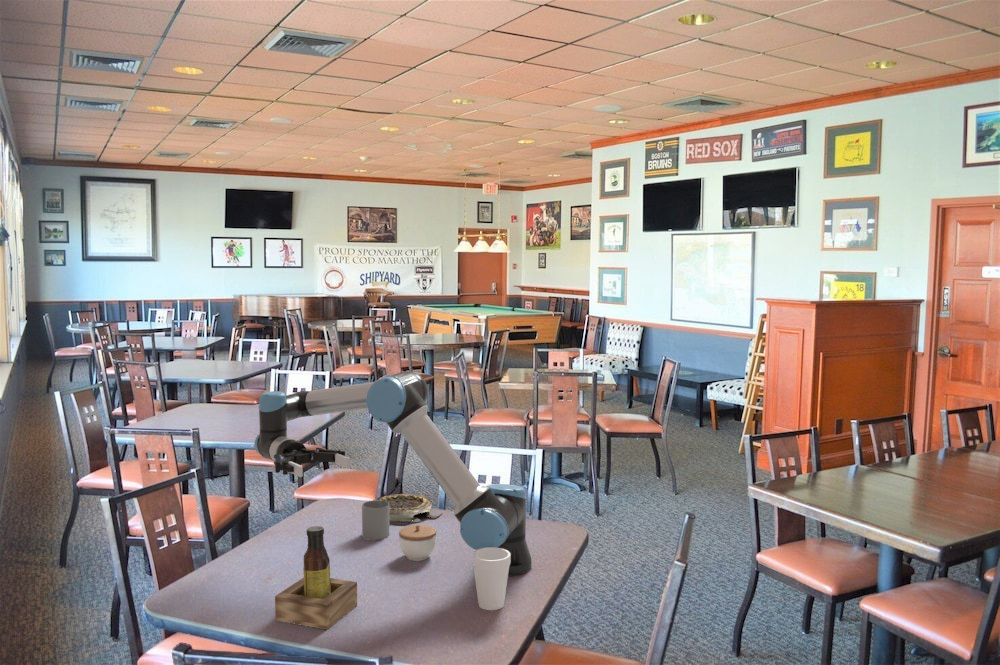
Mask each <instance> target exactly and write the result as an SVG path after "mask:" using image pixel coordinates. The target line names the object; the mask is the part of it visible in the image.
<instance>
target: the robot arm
mask: <svg viewBox="0 0 1000 665" xmlns="http://www.w3.org/2000/svg"><path fill="white" fill-rule="evenodd" d="M428 395H429V388H428V385H427V381H426V380H425V379H424V378H423V376H422V375H420V374H418V373H417V372H414V371H409V370H408V371H406V370H405V371H401V372H398V373H394V374H391V375H390V374H389V375H385V376H382V377H381V378H379V379H377V380H375V381H372V382H365V383H364V382H363V383H358V384H357V383H356V384H348V385H343V386H342V385H341V386H336V387H329V388H322V389H321V388H320V389H313V390H309V391H308V390H300V391H296V392H294V393H291V394H286V393H285V392H284V391H279V390H277V391H275V390H273V391H266V392H263V393H261V394H260V395H259V400H258V401H259V404H258V412H259V413H258V415H259V434H258V435H257V436H256V437H255V439H254V442H253V444H254V450H255V451H256V452H257V454H259V455H260V456H261V457H262V458H265V459H267V460H271V461H273V465H274V468H275V469H274V470H275V473H277V474H279V473H280V472H281V471H282V475H286V476H287V475H288V473H289V474H292V475H294V476H297V477H299V478H302V477H304V476H303V474H304V473H303V472H304V470H303V469H304V468H303V466H304V465H303V464H305V465H306V464H316V463H317V462H320V463H334V464H335V465H338V466H340V467H343V468H345V469H350V468H351V458H350V457H348V456H346V451H344V450H340V449H338V450H336V449H335V450H334V449H333V450H332V449H328V448H327V449H325V448H320V447H316V448H315V449H308V448H307V447H306V446H305V444H303V443H302V442H301V441H299V440H295V439H293V438H290V437H288V435H287V434H288V433H287V430H288V429H287V428H288V426H287V425H288V424H287V423H288V422H289V421H293V420H296V419H299V418H306V417H313V416H321V415H326V414H327V415H329V414H335V413H344V412H345V413H346V412H352V411H360V410H368V412H369V414H370V416H372V418H374V419H375V420H376V421H378V422H381V423H386V425H387V427H389V429H390V430H391V432H392V433H393V434H395V433H397V434H400V435H402V437H403V438H404V439H405V441H406V442H407V444H408V445H409V446H410V447H411V449H412V451H414V452H415V454H416V456H417V457H418V459H419V460H420V461H421V462H422V463H423V465H424V467H425V468H426V470H428V472H429V473H430V474H431V476H432V478H434V480H435V481H436V482H437V484H438V486H439V487H440V488H441V489H442V491H444V493H445V495H446V496H447V497H448V499H449V500H450V501H451V503H452V504H453V506H454V513H453V515H454V517H455V519H457V521H458V522H459V528H460V529H459V532H460V535H461V538H462V540H463V541H464V543H465V544H466V545H467V546H469V547H470V548H471V549H472V550H474V551H476V550H478V549H481V548H486V547H496V548H502V549H505V550H508V551H509V552H510V553H511V563H510V566H509V571H508V577H512V576H518V575H520V576H521V575H523V574H525V573H527V572H529V571H530V570H531V569H532V556H531V553H530V550H529V547H528V543H527V538H526V530H527V528H526V527H527V526H526V525H527V524H526V522H527V518H526V517H527V515H526V514H527V513H526V512H527V511H526V510H527V500H528V499H527V495H526V494H527V492H526V489H525V488H524V487H523V486H520V485H515V484H508V483H507V484H504V483H494V484H493V483H492V484H488V485H486V486H483V485H481V484H480V482H478V481H477V479H476V478H475V476H474V475H473V474H472V473H471V471H470V470H469V468H468V467H467V466H466V464H465V463H464V462H463V459H461V458H460V457H459V454H457V452H456V451H455V450H454V448H453V447H452V446H451V444H450V443H449V442H448V441H447V439H446V438H445V437H444V435H443V433H442V432H441V431H440V430H439V428H438V427H437V426H436V424H435V423H434V421H432V419H431V418H430V416H429V415H428V407H429V405H428V404H427V403H426V402H427V399H428Z"/></svg>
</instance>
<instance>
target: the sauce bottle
mask: <svg viewBox="0 0 1000 665" xmlns="http://www.w3.org/2000/svg"><path fill="white" fill-rule="evenodd" d="M306 535H307V549H306V551H305V553H304V554H303V578H304V595H305V596H307V597H313V598H319V599H324V598H325V597H327V596H328V595H329V594H331V583H330V578H331V567H330V566H331V562H330V561H331V560H330V556H329V555H328V553H327V552H328V551H327V550H326V547H325V543H324V535H325V528H324V527H323V526H320V525H319V526H318V525H315V526H314V525H313V526H309V527H308V528H307V529H306Z"/></svg>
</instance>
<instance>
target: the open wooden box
mask: <svg viewBox="0 0 1000 665" xmlns="http://www.w3.org/2000/svg"><path fill="white" fill-rule="evenodd" d="M330 583H331V594H329V595H328V596H327V597H325V598H324V599H319V598H313V597H307V596H305V595H304V577H302V578H301V579H299V580H298V581H296V582H294V583H293V584H292V585H290V586H288V587H287V588H285V589H283V590H282V591H281V592H279V593H278V594H276V595H275V596H274V612H275V613H274V615H275V618H274V619H275V620H276V621H275V622H279V621H283V622H282V623H285V622H289V623H288V624H290V623H295V624H294V625H296V624H301V625H306V626H305V627H307V626H310V627H309V628H312V627H316V628H315V629H318V628H320V630H323V629H326V630H325V631H328V630H330V629H331V627H333V626H334V625H335V624H336V623H338V622H339V621H340V620H341V619H343V618H344V617H345V616H347V615H348V614H349V613H350V612H351V611H352V609H353V608H354V607H355V606H356V607H357V606H358V582H357V581H352V580H344V579H340V578H333V577H332V578H331V577H330ZM356 607H355V608H356ZM355 608H354V609H355ZM354 609H353V610H354ZM349 611H350V612H349ZM348 612H349V613H348ZM347 613H348V614H347ZM343 616H344V617H343ZM342 617H343V618H342ZM338 620H339V621H338ZM337 621H338V622H337ZM301 625H300V626H301ZM332 625H333V626H332ZM327 629H328V630H327Z"/></svg>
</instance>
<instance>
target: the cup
mask: <svg viewBox="0 0 1000 665" xmlns="http://www.w3.org/2000/svg"><path fill="white" fill-rule="evenodd" d="M373 500H374V499H373ZM373 500H368V501H365V502H363V503H362V504H361V511H362V512H361V514H362V516H361V520H362V521H361V524H362V526H361V527H362V529H361V531H362V533H361V534H362V535H361V536H362V538H363V539H364V538H365V540H367V541H368V540H369V541H379V540H380V539H381V540H385V539H387V538H389V537H390V524H389V523H390V521H389V503H388V502H386V501H381V500H374V501H373ZM388 536H389V537H388ZM384 538H385V539H384Z"/></svg>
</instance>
